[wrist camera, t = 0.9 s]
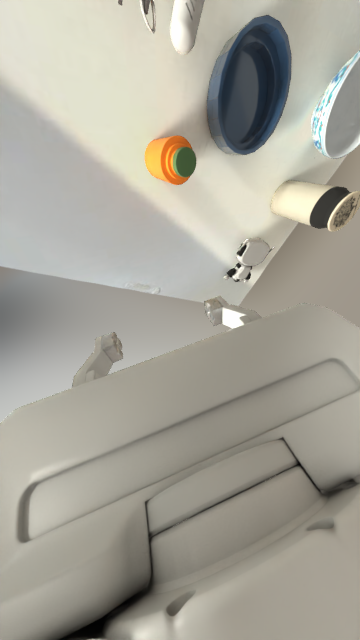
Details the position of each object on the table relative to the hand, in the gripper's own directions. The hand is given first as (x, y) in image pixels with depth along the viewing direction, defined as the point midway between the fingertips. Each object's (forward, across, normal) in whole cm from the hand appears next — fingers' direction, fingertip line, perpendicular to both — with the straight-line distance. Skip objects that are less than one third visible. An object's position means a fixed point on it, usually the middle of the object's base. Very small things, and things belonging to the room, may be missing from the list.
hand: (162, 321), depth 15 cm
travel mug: (+37, -44, +2) cm, 58 cm away
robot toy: (+38, -33, +18) cm, 53 cm away
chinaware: (+36, -50, -12) cm, 63 cm away
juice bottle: (+34, -10, -11) cm, 37 cm away
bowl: (+34, -28, -16) cm, 47 cm away
